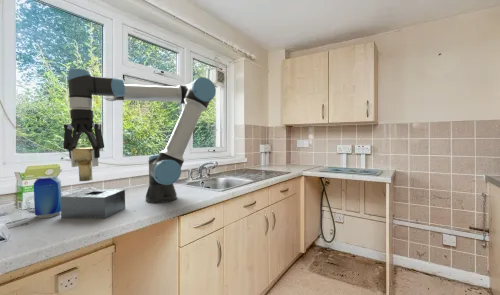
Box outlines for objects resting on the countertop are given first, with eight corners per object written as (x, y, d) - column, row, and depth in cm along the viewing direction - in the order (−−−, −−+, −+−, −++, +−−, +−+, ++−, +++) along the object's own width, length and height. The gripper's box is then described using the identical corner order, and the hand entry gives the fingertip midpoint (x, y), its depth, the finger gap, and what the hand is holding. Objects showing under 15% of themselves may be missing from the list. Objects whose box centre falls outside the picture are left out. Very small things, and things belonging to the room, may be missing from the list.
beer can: (31, 219, 92) (29, 179, 92) (39, 213, 100) (38, 175, 99) (57, 217, 96) (56, 177, 95) (64, 211, 103) (63, 174, 103)
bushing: (101, 178, 100) (99, 147, 99) (88, 181, 92) (86, 148, 91) (83, 178, 100) (81, 147, 99) (69, 182, 92) (67, 149, 91)
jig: (125, 208, 108) (124, 189, 107) (105, 218, 94) (104, 197, 93) (86, 207, 108) (86, 189, 108) (61, 217, 94) (60, 196, 94)
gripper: (112, 109, 98) (115, 164, 99) (63, 111, 98) (67, 165, 100) (101, 107, 91) (104, 167, 92) (48, 109, 91) (52, 168, 92)
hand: (85, 166), depth 96 cm, fingers closed on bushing, 8 cm apart
